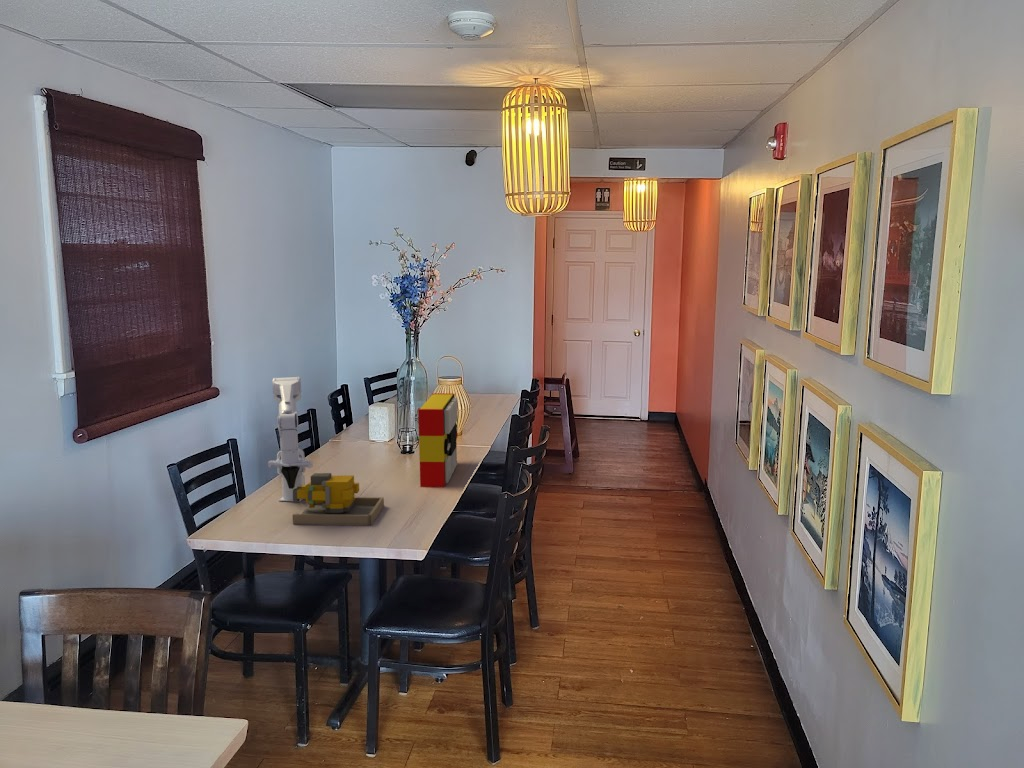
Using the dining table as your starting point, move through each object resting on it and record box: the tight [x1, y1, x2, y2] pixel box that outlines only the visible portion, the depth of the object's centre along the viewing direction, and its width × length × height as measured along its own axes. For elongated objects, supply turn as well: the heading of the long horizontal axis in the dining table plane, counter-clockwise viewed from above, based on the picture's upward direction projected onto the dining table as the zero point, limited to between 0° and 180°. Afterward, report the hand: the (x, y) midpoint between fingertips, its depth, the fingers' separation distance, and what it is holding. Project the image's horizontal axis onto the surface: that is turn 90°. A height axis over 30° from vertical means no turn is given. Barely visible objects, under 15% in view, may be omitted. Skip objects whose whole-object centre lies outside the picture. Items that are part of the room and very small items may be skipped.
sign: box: [417, 392, 459, 488], centre depth 305 cm, size 33×11×30 cm, turn 176°
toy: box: [292, 472, 360, 513], centre depth 262 cm, size 14×13×20 cm
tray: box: [292, 496, 385, 526], centre depth 261 cm, size 19×26×3 cm
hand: (291, 487), depth 261 cm, fingers closed
